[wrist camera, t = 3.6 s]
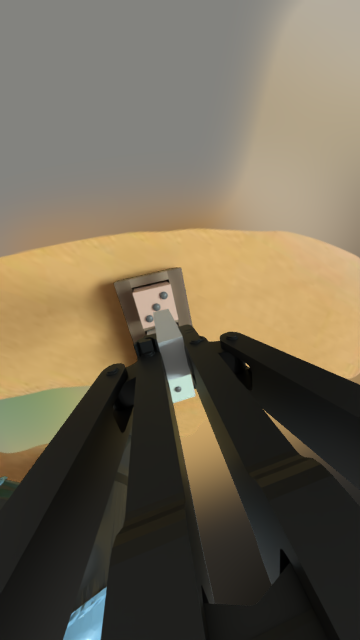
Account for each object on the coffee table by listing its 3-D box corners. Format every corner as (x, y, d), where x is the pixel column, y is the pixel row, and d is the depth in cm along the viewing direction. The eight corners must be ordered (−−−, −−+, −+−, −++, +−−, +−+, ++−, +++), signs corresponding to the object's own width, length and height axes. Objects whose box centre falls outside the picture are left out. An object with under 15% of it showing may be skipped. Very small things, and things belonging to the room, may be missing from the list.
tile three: (143, 318, 28) (143, 329, 23) (134, 288, 26) (132, 293, 21) (172, 310, 28) (178, 320, 24) (166, 280, 27) (170, 284, 22)
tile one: (163, 385, 33) (166, 406, 28) (157, 363, 31) (159, 382, 26) (188, 377, 33) (195, 396, 28) (183, 355, 31) (190, 372, 27)
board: (152, 386, 35) (153, 400, 31) (117, 280, 28) (113, 283, 24) (197, 372, 36) (203, 384, 33) (176, 267, 29) (181, 267, 25)
